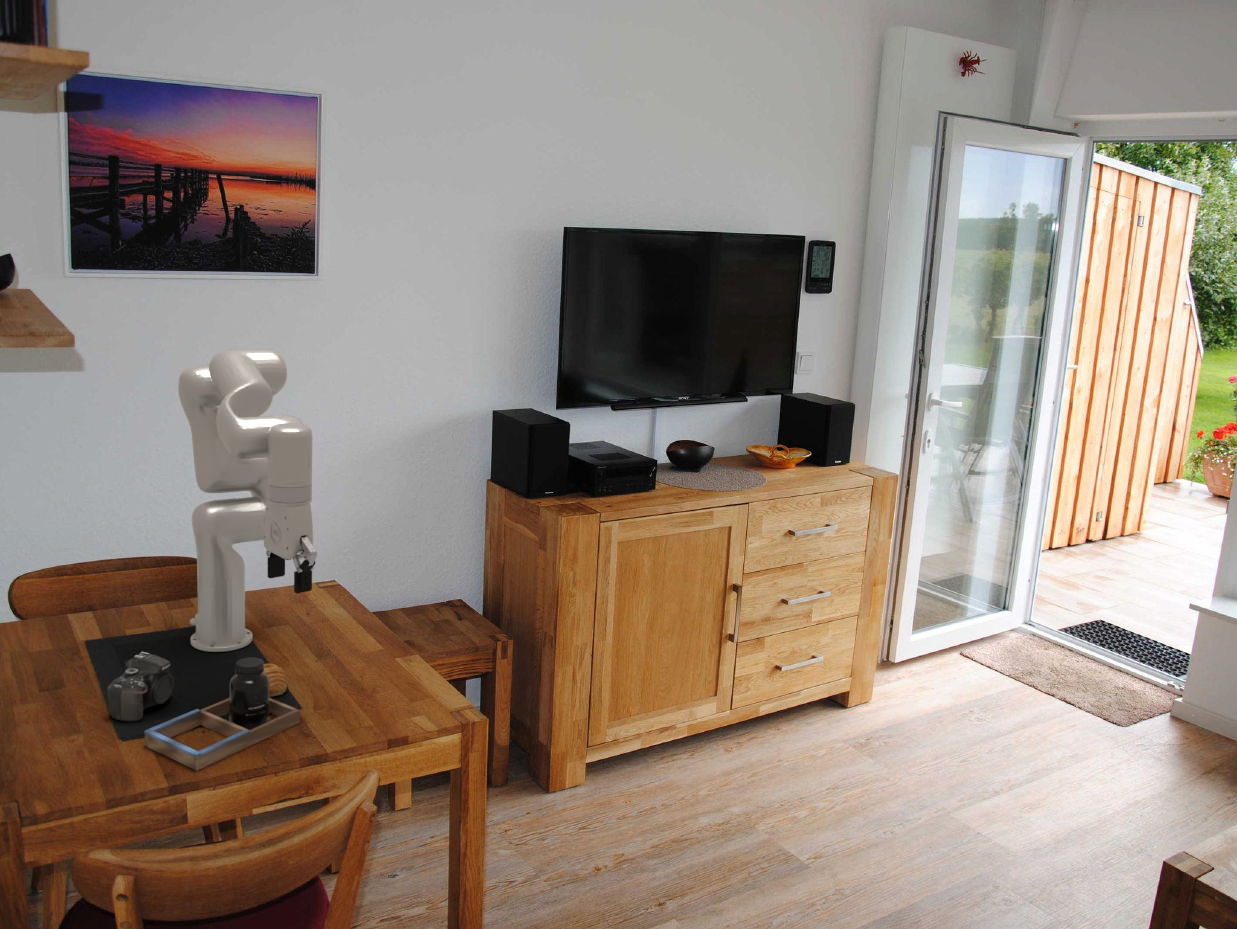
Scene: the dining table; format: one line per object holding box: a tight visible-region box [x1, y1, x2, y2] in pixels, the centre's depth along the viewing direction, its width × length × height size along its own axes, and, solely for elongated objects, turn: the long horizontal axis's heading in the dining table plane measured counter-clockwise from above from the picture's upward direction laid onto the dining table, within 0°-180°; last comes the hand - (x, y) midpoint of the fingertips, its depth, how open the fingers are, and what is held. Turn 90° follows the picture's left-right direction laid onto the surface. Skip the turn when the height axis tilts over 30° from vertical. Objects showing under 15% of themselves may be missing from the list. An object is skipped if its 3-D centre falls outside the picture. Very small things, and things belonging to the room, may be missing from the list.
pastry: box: [263, 663, 289, 698], centre depth 205 cm, size 9×7×4 cm
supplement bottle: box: [228, 657, 270, 730], centre depth 190 cm, size 7×7×12 cm
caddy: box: [143, 697, 301, 771], centre depth 186 cm, size 14×22×3 cm, turn 150°
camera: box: [105, 651, 175, 722], centre depth 193 cm, size 13×10×10 cm
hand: (289, 584), depth 189 cm, fingers open, 9 cm apart
